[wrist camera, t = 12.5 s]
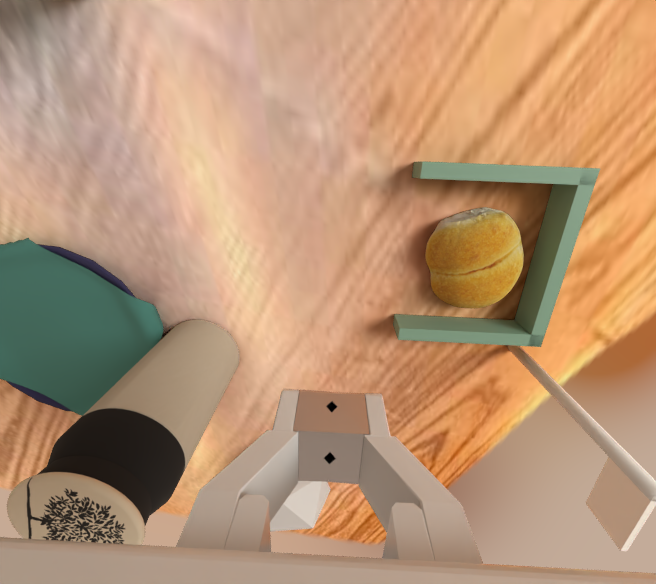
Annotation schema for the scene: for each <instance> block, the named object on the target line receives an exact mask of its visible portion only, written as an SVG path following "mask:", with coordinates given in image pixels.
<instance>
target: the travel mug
mask: <svg viewBox="0 0 656 584" xmlns="http://www.w3.org/2000/svg"><path fill="white" fill-rule="evenodd" d="M239 358H240V355H239V349H238V346H237V344H236V342H235V340H234V339H233V337H232V336H231V335H230V334H229V333H228V332H227V331H226V330H225V329H223V328H222V327H220V326H219V325H217V324H215V323H212V322H209V321H205V320H188V321H184V322H182V323H180V324H178V325H176V326H175V327H174V328H173V329H172V330H171V331H170V332H169V333H168V334H167V335H166V336H165V337H164V338H163V339H161V340H160V341H159V342H158V343H157V344H156V345H155V346H154V347H153V348H152V349H151V350H150V351H149V352H148V353H147V354H146V355H145V356H144V357H143V358H142V359H141V360H140V361H139V362H138V363H137V364H136V365H135V366H134V367H132V368H131V369H130V370H129V371H128V372H127V373H126V374H125V375H124V376H123V377H122V378H121V379H120V380H119V381H118V382H117V383H116V384H115V385H114V386H113V387H112V388H111V389H110V390H109V391H108V392H107V393H106V394H105V395H103V396H102V397H101V398H100V399H99V400H98V401H97V402H96V403H95V404H94V405H93V406H92V407H91V408H90V409H89V410H88V411H87V412H86V413H85V414H84V415H83V416H82V417H81V418H80V419H79V420H78V421H77V422H76V423H75V424H73V425H72V426H71V427H70V428H69V429H68V430H67V431H66V432H65V433H64V434H63V435H62V436H61V437H60V438H59V439H58V440H57V442H56V443H55V445H54V447H53V450H52V453H51V456H50V459H49V462H48V465H47V467H46V468H44V469H43V470H42V471H41V472H40V473H38V474H37V475H35V476H32V477H29V478H27V479H25V480H24V481H22V482H21V483H19V484H18V485H17V486H16V487H15V488H14V489H13V491H12V492H11V494H10V496H9V498H8V502H7V512H8V516H9V519H10V521H11V523H12V525H13V527H14V528H15V529H16V531H17V532H18V533H19V534H20V535H21V536H22V537H23V538H24V539H40V540H58V541H76V542H94V543H112V544H131V545H142V543H143V541H144V537H145V525H146V523H147V520H148V518H149V516H150V515H151V514H152V513H154V512H155V511H156V510H157V509H159V508H160V507H161V506H163V505H164V504H165V503H166V502H167V501H168V500H169V499H170V497H171V496H172V494H173V492H174V490H175V488H176V486H177V484H178V482H179V480H180V478H181V476H182V474H183V472H184V471H185V469H186V467H187V465H188V463H189V461H190V459H191V457H192V455H193V453H194V451H195V449H196V447H197V445H198V443H199V441H200V439H201V437H202V435H203V433H204V431H205V429H206V428H207V426H208V424H209V422H210V420H211V418H212V416H213V414H214V412H215V410H216V408H217V406H218V404H219V402H220V400H221V398H222V396H223V394H224V392H225V390H226V388H227V387H228V385H229V383H230V381H231V379H232V377H233V375H234V373H235V371H236V369H237V367H238V364H239Z"/></svg>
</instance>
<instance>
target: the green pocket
mask: <svg viewBox="0 0 656 584" xmlns="http://www.w3.org/2000/svg"><path fill="white" fill-rule="evenodd" d="M599 170H600V169H597V168H572V167H547V166H521V165H496V164H471V163H445V162H414V165H413V173H412V177H413V178H421V179H445V180H470V181H495V182H519V183H544V184H553V187H552V190H551V194H550V197H549V201H548V204H547V208H546V211H545V215H544V218H543V222H542V225H541V229H540V232H539V236H538V239H537V243H536V246H535V250H534V253H533V257H532V260H531V264H530V267H529V271H528V274H527V278H526V281H525V285H524V288H523V292H522V295H521V299H520V302H519V306H518V309H517V313H516V316H515V320H504V319H483V318H463V317H442V316H421V315H401V314H394V322H393V326H394V329H395V332H396V335H397V338H398V340H414V341H435V342H455V343H475V344H495V345H508V349H509V350H510V351H511V352H512V353H513V354H514V355H515V356H516V357H517V359H518V360H519V361H520V362H521V363H522V364H523V365H524V366H525V367H526V368H527V369H528V370H529V371H530V373H531V374H532V375H533V376H534V377H535V378H536V379H537V380H538V381H539V382H540V383H541V384H542V385H543V386H544V388H545V389H546V390H547V391H548V392H549V393H550V394H551V395H552V396H553V397H554V398H555V399H556V400H557V401H558V402H559V404H560V405H561V406H562V407H563V408H564V409H565V410H566V411H567V412H568V413H569V414H570V415H571V417H572V418H573V419H574V420H575V421H576V422H577V423H578V424H579V425H580V426H581V427H582V428H583V429H584V430H585V432H586V433H587V434H588V435H590V437H591V438H592V439H593V440H594V441H595V442H596V443H597V444H598V445H599V446H600V448H601V449H602V450H603V451H604V452H605V453H606V454H607V455H608V456H609V457H608V459H607V461H606V463H605V465H604V467H603V469H602V471H601V473H600V475H599V477H598V479H597V481H596V483H595V485H594V488H593V490H592V491H591V493H590V495H589V498H588V499H587V501H586V504H587V506H588V507H589V508H590V510H591V511H592V512H593V514H594V515H595V516H596V518H597V519H598V521H599V522H600V523H601V525H602V526H603V528H604V529H605V530H606V532H607V533H608V534H609V536H610V537H611V538H612V540H613V541H614V542H615V544H616V545H617V547H618V548H619V549H620V551H627V550H628V549H629V547H630V545H631V544H632V542H633V541H634V539H635V538H636V536H637V534H638V533H639V531H640V529H641V528H642V526H643V525H644V523H645V521H646V520H647V518H648V517H649V515H650V513H651V512H652V510H653V509H654V507H655V505H656V480H655V479H654V478H653V477H651V476H650V474H649V473H647V471H646V470H644V469H643V468H642V467H641V466H640V465H639V464H638V463H637V462H636V461H635V460H634V459H633V458H632V457H631V456H630V455H629V454H628V453H627V452H626V451H625V450H624V449H623V448H622V447H621V446H620V445H619V444H618V443H617V442H616V441H615V440H614V439H613V438H612V437H611V436H610V435H609V434H608V433H607V432H606V431H605V430H604V429H603V428H602V427H601V426H600V425H599V424H598V423H597V422H596V421H595V420H594V419H593V418H592V417H591V416H590V415H589V414H588V413H587V412H586V411H585V410H584V409H583V408H582V407H581V406H580V405H579V404H578V403H577V402H576V401H575V400H574V399H573V398H572V397H571V396H570V395H569V394H568V393H567V392H566V391H565V390H564V389H563V388H562V387H561V386H560V385H559V384H558V383H557V382H556V381H555V380H554V379H553V378H552V377H551V376H550V375H549V374H548V373H547V372H546V371H545V370H544V369H543V368H542V367H541V366H540V365H539V364H537V363H536V362H535V361H534V360H533V359H532V358H531V357H530V356H529V355H528V354H527V353H526V352H525V351H524V350H523V349H522V348H521V347H520V346H535V347H541V345H542V342H543V339H544V336H545V333H546V330H547V327H548V324H549V321H550V318H551V315H552V312H553V309H554V306H555V303H556V300H557V297H558V294H559V291H560V288H561V285H562V282H563V279H564V276H565V273H566V270H567V267H568V264H569V261H570V258H571V255H572V252H573V249H574V245H575V242H576V239H577V236H578V233H579V230H580V227H581V224H582V221H583V218H584V215H585V212H586V209H587V206H588V203H589V200H590V197H591V194H592V191H593V188H594V185H595V182H596V179H597V176H598V173H599Z"/></svg>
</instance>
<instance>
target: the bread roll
mask: <svg viewBox="0 0 656 584" xmlns="http://www.w3.org/2000/svg"><path fill="white" fill-rule="evenodd" d="M425 257H426V262H427V265H428V267H429V269H430V274H431V279H430V280H431V287H432V290H433V292H434V293H435V294H436V296H437V297H438V298H440V299H441V300H443V301H445V302H446V303H448V304H450V305H453V306H456V307H462V308H482V307H486V306H489V305H492V304H494V303H496V302H498V301H500V300H501V299H502V298H504V297H505V296H506V295H507V294H508V293H509V292H510V291H511V289H512V288H513V286H514V285H515V283H516V282H517V280H518V278H519V276H520V273H521V271H522V268H523V259H524V253H523V247H522V242H521V236H520V231H519V229H518V227H517V225H516V224H515V222H514V221H513V219H512V218H511V217H510V216H509V215H508V214H506V213H505V212H503V211H500V210H496V209H491V208H487V207H483V208H478V209H473V210H468V211H464V212H461V213H459V214H455V215H453V216H451V217H448V218H446V219H443V220H442V221H440V222H439V223H438V225H437V227H436V229H435V231H434V232H433V234H432V235H431V237H430V238H429V240H428V243H427V247H426V254H425Z"/></svg>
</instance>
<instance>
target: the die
mask: <svg viewBox="0 0 656 584" xmlns="http://www.w3.org/2000/svg"><path fill="white" fill-rule="evenodd" d="M329 492H330V487H329V485H328V482H322V481H298V484H297V485H296V487H295V488H294V489H293V491H292V492H291V494H290V495H289V496H288V498H287V499H286V501H285V502H284V503H283V505H282V506H281V508H280V509H279V510H278V512H277V513H276V515H275V516H274V518H273V519H272V520H271V522H270V531H283V530H296V529H310V528H313V527H314V525H315V523H316V521H317V519H318V516H319V514H320V512H321V510H322V507H323V505H324V503H325V501H326V499H327V496H328V494H329Z"/></svg>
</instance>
